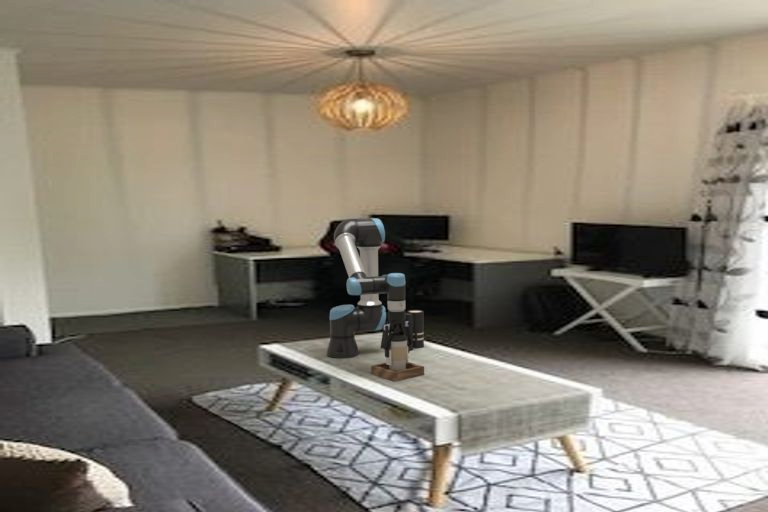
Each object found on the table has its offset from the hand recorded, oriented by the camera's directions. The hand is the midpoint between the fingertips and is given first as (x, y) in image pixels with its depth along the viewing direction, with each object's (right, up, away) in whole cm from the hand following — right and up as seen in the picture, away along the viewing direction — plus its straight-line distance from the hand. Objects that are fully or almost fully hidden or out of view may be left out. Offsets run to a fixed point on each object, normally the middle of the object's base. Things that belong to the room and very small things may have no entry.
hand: (397, 362), depth 294 cm
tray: (0, -5, 0) cm, 5 cm away
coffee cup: (0, -3, 0) cm, 3 cm away
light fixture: (+8, 0, +50) cm, 51 cm away
